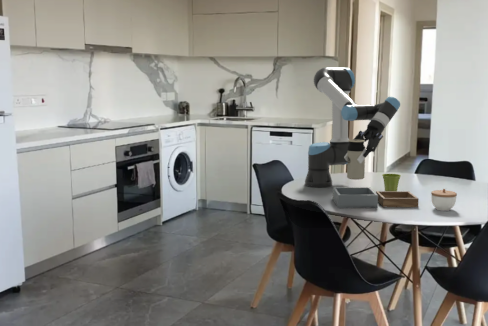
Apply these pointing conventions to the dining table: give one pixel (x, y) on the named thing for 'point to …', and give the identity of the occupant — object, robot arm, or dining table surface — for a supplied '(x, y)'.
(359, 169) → the travel mug
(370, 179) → the dining table surface
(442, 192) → the lidded jar
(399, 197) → the walnut frame
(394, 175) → the plant pot
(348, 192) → the slate bin
